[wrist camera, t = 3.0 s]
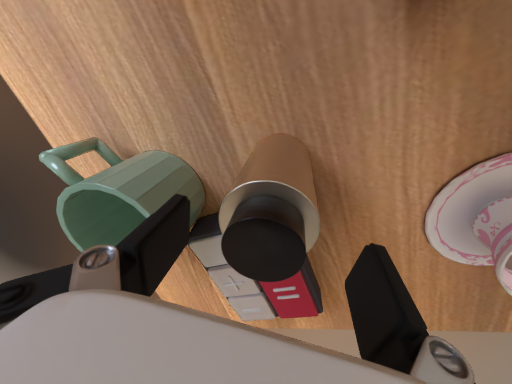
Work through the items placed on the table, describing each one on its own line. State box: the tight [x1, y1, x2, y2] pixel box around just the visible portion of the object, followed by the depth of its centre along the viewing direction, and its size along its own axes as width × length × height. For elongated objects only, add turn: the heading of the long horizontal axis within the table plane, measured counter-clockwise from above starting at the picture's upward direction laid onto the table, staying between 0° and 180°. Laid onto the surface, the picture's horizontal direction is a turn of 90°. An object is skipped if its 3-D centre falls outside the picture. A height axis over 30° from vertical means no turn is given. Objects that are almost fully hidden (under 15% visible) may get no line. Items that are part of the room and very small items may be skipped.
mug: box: [39, 137, 205, 252], centre depth 20 cm, size 13×10×8 cm
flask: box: [218, 134, 320, 282], centre depth 15 cm, size 6×6×12 cm
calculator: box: [187, 213, 323, 321], centre depth 25 cm, size 11×4×15 cm
